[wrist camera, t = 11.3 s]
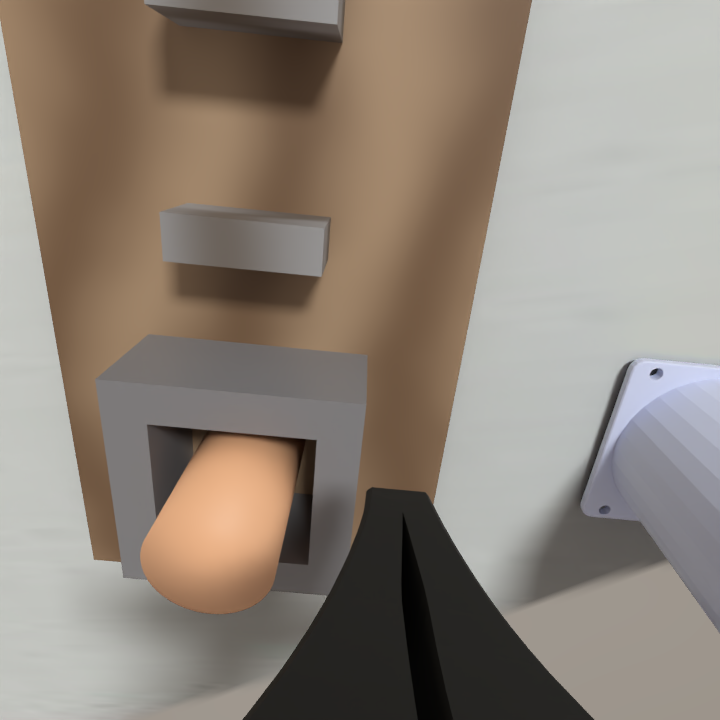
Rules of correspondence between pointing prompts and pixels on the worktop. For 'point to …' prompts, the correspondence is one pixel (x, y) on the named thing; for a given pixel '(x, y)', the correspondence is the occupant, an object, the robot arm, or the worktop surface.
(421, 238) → the dock board
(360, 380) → the socket
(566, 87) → the worktop surface
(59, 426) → the worktop surface
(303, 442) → the peg
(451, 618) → the robot arm
